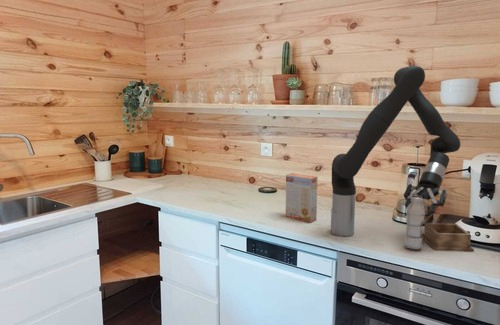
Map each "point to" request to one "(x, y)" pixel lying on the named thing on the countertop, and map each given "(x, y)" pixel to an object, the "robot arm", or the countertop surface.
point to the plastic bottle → (414, 223)
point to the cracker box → (301, 197)
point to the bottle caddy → (447, 237)
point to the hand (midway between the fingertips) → (418, 211)
